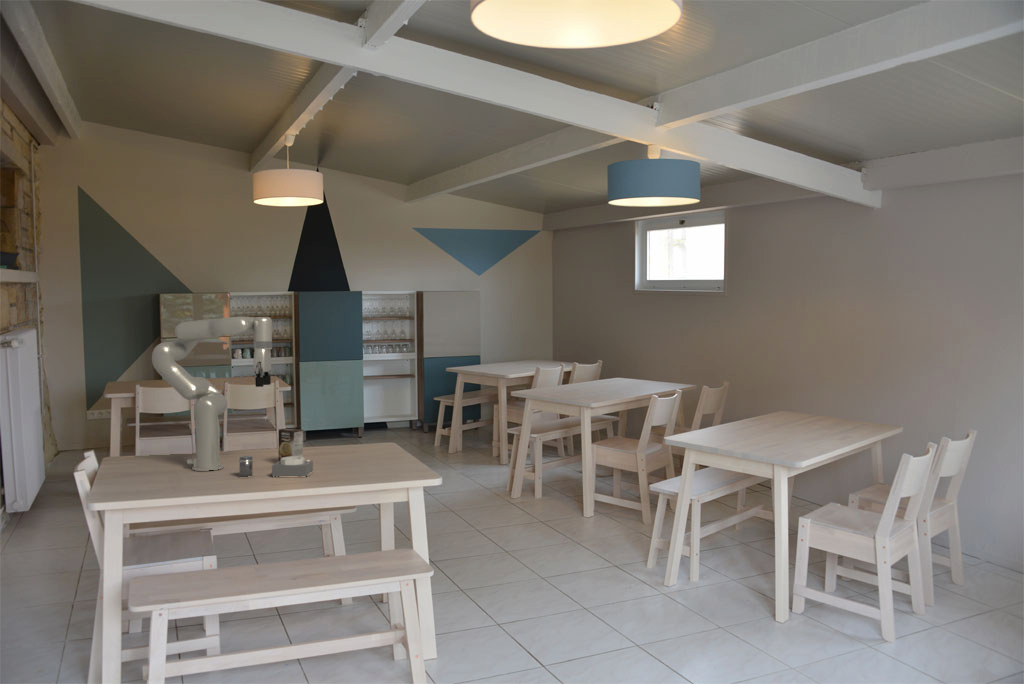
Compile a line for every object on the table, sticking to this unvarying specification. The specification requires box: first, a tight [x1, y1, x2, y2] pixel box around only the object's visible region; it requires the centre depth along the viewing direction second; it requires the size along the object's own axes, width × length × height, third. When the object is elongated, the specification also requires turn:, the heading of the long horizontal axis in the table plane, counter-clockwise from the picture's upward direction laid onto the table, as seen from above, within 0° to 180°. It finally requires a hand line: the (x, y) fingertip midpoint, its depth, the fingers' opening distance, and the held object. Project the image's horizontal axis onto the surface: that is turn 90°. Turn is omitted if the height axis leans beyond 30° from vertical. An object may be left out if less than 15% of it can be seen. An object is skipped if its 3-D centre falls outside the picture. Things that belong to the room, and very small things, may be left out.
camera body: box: [271, 456, 314, 477], centre depth 314 cm, size 14×10×7 cm
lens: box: [238, 455, 254, 478], centre depth 310 cm, size 5×5×8 cm
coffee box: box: [278, 427, 304, 461], centre depth 335 cm, size 9×6×16 cm
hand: (263, 385), depth 325 cm, fingers open, 9 cm apart
